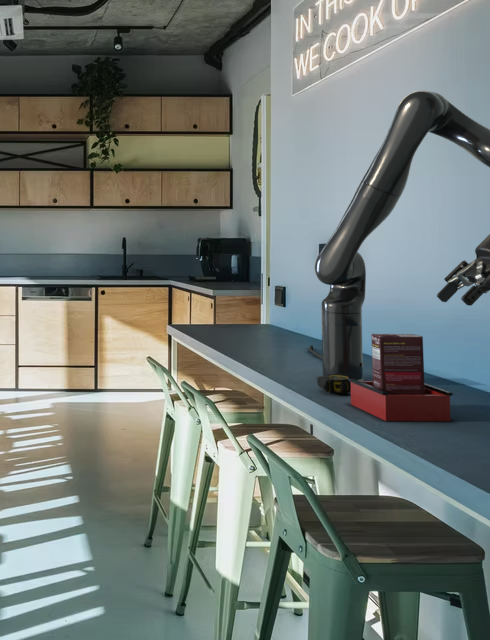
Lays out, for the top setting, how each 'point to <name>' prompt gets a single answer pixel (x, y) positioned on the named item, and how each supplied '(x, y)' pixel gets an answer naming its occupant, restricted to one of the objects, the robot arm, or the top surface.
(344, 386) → the tape measure
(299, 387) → the top surface
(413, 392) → the supplement box
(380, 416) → the open red box
